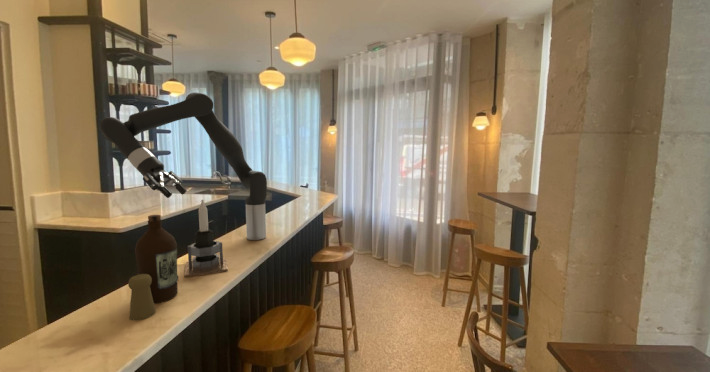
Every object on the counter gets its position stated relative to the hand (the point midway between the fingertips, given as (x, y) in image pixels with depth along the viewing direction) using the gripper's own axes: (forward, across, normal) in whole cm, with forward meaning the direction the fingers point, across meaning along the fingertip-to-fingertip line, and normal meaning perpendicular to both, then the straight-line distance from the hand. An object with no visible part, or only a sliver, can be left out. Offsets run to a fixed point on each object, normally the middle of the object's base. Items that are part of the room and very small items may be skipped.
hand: (177, 194), depth 118 cm
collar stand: (+26, 0, +13) cm, 29 cm away
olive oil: (+26, -24, +14) cm, 37 cm away
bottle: (+26, 0, +12) cm, 28 cm away
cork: (+27, -34, +12) cm, 45 cm away
